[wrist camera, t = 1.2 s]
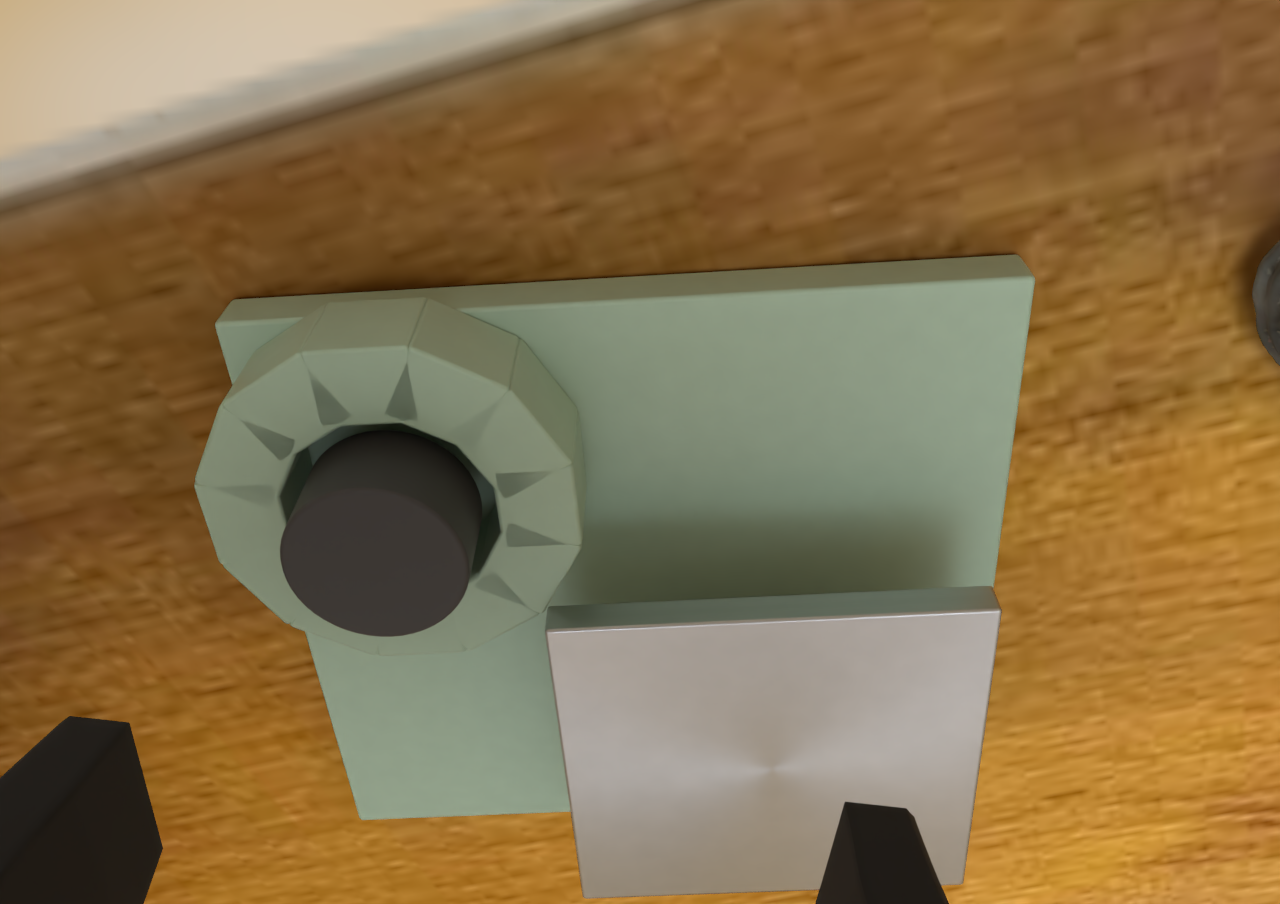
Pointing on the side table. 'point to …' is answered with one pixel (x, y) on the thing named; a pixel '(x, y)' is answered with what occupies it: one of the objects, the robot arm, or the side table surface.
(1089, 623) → the side table surface
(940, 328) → the scale
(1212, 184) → the side table surface
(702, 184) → the side table surface
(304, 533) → the tare button
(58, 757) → the robot arm
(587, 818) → the grey square plate
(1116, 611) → the side table surface
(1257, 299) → the composite cable
